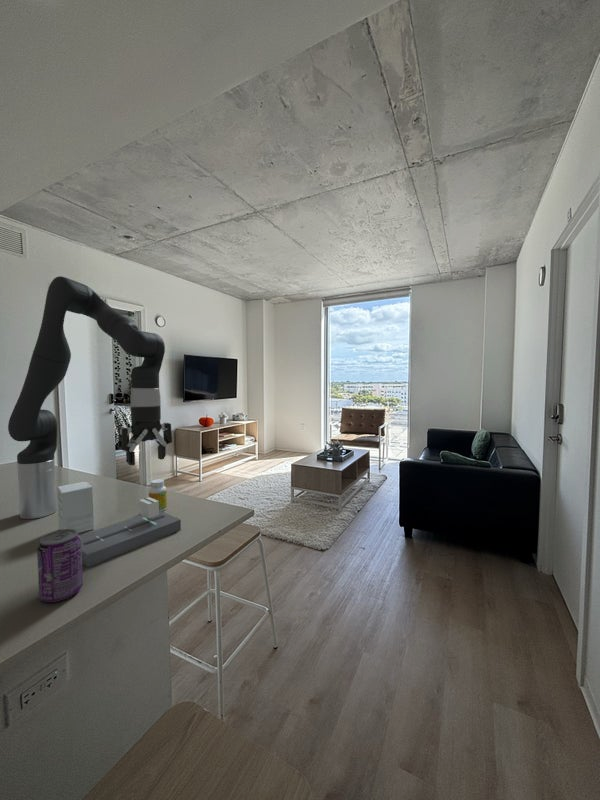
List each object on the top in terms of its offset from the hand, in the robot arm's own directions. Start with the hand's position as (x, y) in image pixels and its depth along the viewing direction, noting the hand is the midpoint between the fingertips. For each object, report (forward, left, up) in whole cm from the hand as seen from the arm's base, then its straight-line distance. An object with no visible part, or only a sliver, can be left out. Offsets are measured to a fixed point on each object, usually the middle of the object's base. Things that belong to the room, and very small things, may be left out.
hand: (146, 461), depth 92 cm
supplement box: (-18, -12, -20) cm, 29 cm away
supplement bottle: (-13, +10, -20) cm, 26 cm away
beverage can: (+12, -25, -20) cm, 34 cm away
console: (0, -6, -20) cm, 21 cm away
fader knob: (0, 0, -17) cm, 17 cm away
